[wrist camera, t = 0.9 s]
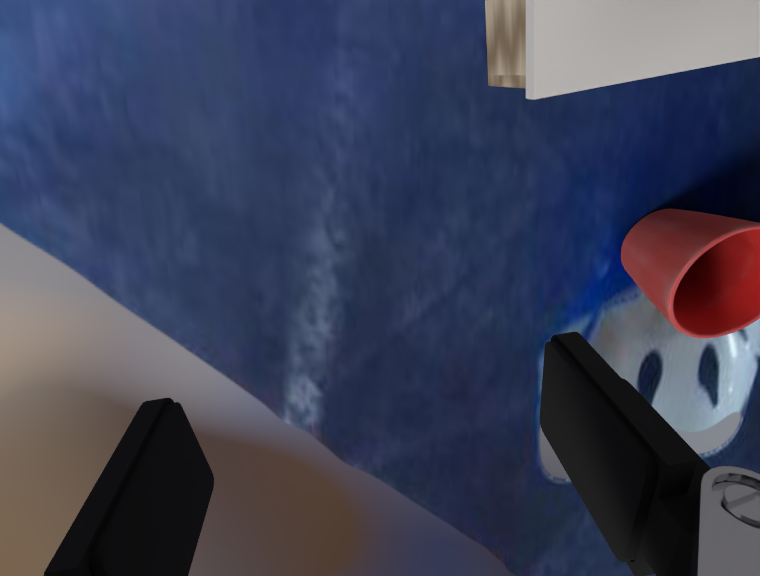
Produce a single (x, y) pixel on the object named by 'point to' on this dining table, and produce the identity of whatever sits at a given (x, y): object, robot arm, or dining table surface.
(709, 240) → the flower pot
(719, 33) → the lid
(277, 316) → the dining table surface
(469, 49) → the dining table surface
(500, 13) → the box
